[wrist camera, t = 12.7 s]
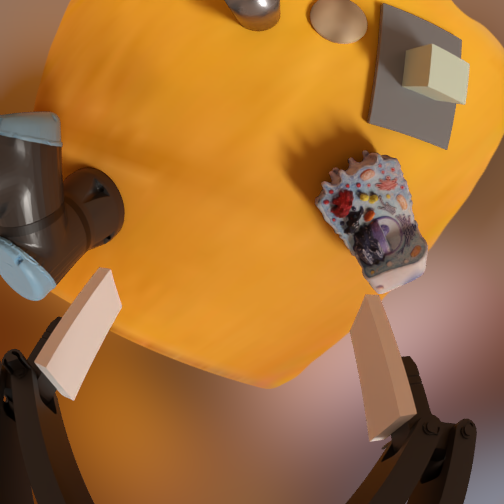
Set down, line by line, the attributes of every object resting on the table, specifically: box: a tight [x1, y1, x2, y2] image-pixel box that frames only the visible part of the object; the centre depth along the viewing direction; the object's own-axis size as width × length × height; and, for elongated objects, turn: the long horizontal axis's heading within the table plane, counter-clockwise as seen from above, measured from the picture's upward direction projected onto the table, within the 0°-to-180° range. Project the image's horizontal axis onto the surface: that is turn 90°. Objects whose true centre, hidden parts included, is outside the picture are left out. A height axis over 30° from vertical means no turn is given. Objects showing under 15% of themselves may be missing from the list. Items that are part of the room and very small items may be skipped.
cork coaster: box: [310, 0, 367, 44], centre depth 25 cm, size 8×8×1 cm
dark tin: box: [225, 0, 280, 31], centre depth 22 cm, size 6×6×9 cm
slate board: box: [367, 3, 462, 150], centre depth 27 cm, size 14×20×1 cm
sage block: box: [402, 44, 470, 105], centre depth 23 cm, size 6×6×8 cm
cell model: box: [315, 150, 428, 294], centre depth 35 cm, size 13×11×20 cm
